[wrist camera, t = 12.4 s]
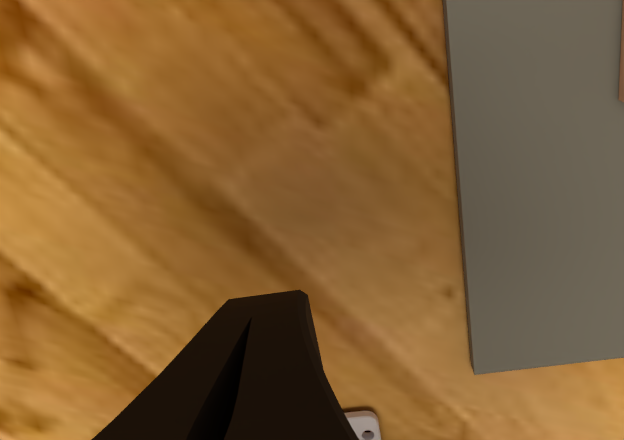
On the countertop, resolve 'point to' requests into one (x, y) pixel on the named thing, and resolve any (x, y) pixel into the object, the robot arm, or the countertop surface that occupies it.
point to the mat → (539, 178)
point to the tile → (622, 61)
